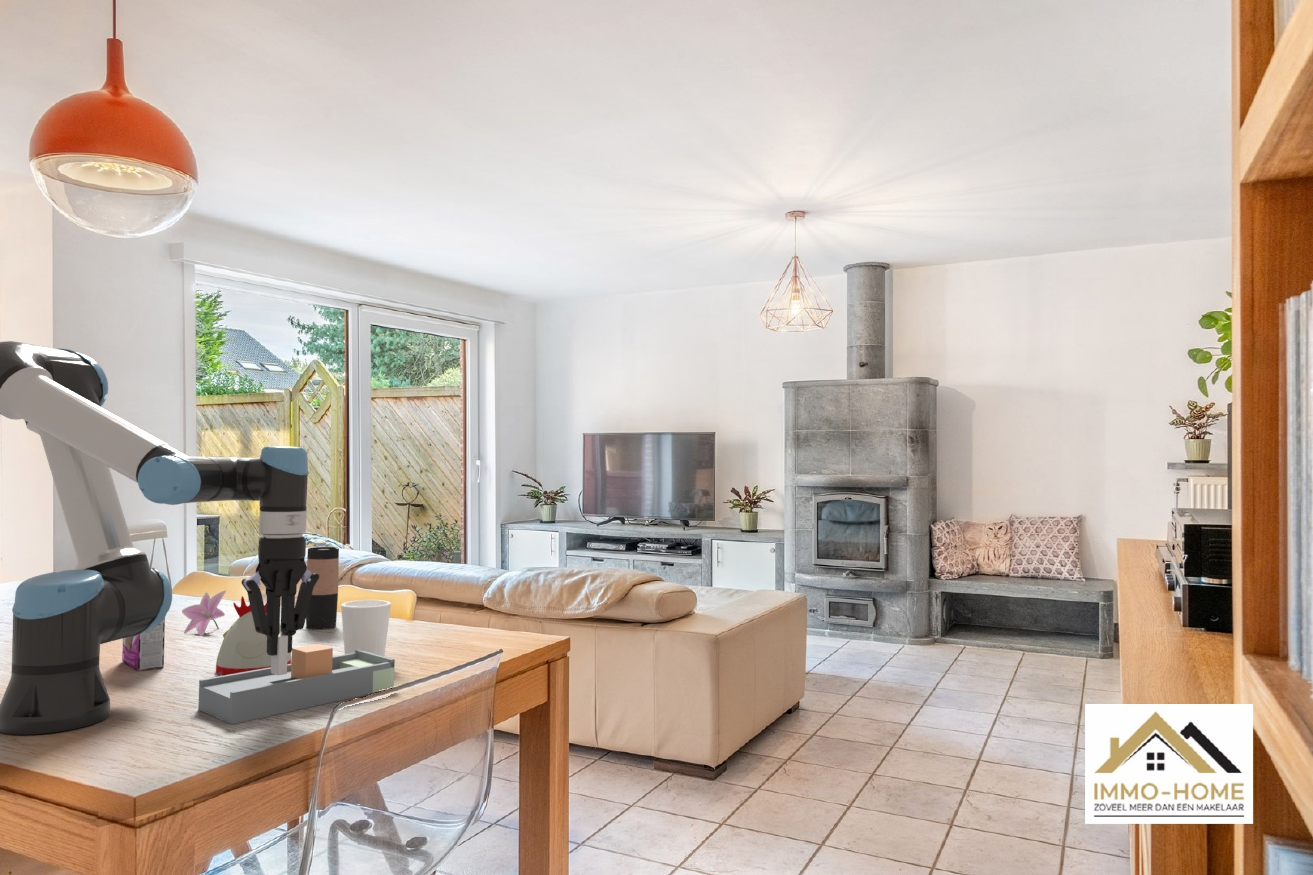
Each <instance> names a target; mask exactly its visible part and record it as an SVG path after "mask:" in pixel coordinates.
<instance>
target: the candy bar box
mask: <svg viewBox="0 0 1313 875" xmlns="http://www.w3.org/2000/svg"><path fill="white" fill-rule="evenodd" d="M165 626H166V617H165V618H164V619H163V621H162V622H161V623H160V624H158V625H157V626H156V627H154V628H153V629H151V630H149V631H146V632H143V633H142V634H139V635H136V636H134V637H129V638H127V637H126V638H122V654H121V655H122V656H121V658H122V659H121V661H122V662H123V663H124V664H126V663H127V665H128V666H130V667H132V668H133V669H135V670H137V671H139V672H141V671H142V670H143V671H149V670H148V669H150V670H155V669H154V668H156V669H160V668H161V669H162V668H164V666H165V636H166V635H165V634H166V633H165V632H166V631H165V629H166V628H165ZM143 671H142V672H143Z"/></svg>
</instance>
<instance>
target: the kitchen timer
mask: <svg viewBox="0 0 1313 875" xmlns="http://www.w3.org/2000/svg"><path fill="white" fill-rule="evenodd" d="M232 603H233V607H234V610H235V612H236V614H237V615H238V618H237V619H236V620H235V621H234V622H233V624H231V626H230V627H229V628H228V630H226V631H225V632H224V633H223V634H222V638H223V639H222V642H221V646H220V647H219V648H220V649H219V650H218V654H217V656H216V661H215V662H216V664H215V673H216V674H217V675H219V676H224V675H230V674H236V673H241V672H247V671H253V670H259V669H264V668H270V667H271V655H268V654H267V636H266V635H265V634H261V633H257V632H256V630H255V625H254V621H253V616H252V612H251V607H250V604H248V605H247V604H246V601H245V597H244V596H243V595H242V596H241V599H240V606H238V605H237V604H236V602H232ZM264 608H265V612H266V609H267V602H266V603H265V604H264ZM279 634H282V632H281V624H280V632H279ZM291 660H292V652H291V653H287V664H291Z"/></svg>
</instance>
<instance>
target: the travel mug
mask: <svg viewBox="0 0 1313 875" xmlns="http://www.w3.org/2000/svg"><path fill="white" fill-rule="evenodd" d="M339 552H340V548H337V547H334V546H316V547H308V549H307V559H306V560H307V562H306V565H307V570H309V571H311V572H312V573H316V574H318V575H319V579H318V581H317V582H316V584H315V586H314V588H313V592H312V596H311V600H310V604H309V608H308V612H307V616H306V620H305V627H306V629H307V628H309V629H308V630H315V629H319V630H327V629H328V630H329V629H334V628H335V627H337V616H338V615H337V614H338V600H339V570H340V568H339V567H340V566H339V563H340V560H339V559H340V558H339V556H340V553H339Z"/></svg>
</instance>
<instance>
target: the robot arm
mask: <svg viewBox="0 0 1313 875" xmlns="http://www.w3.org/2000/svg"><path fill="white" fill-rule="evenodd" d="M108 393H109V382H108V378H107V375H106V373H105V371H104V369H103V367H102V366H101V365H100V364H99V362H97V361H96V360H95V359H94V358H92V357H90V356H89V355H86V354H83V353H80V352H78V351H74V350H71V349H67V348H53V347H48V346H41V345H36V344H31V343H25V342H20V341H11V340H8V341H7V340H6V341H0V415H1V416H3V417H5V418H6V419H9V420H17V421H18V420H24V423H25V425H26V428H27V430H29V431H31V432H33V433H35V434H38V435H39V436H40V440H41V443H42V446H43V451H44V453H45V457H46V459H47V463H48V466H49V469H50V473H51V476H52V479H53V482H54V486H55V489H56V492H57V496H58V499H59V503H60V505H61V506H60V507H61V509H62V512H63V515H64V519H65V521H66V526H67V529H68V533H69V537H70V538H71V541H72V546H73V550H74V552H75V556H76V558H77V564H76V565H75V568H74V569H69V570H68V569H67V570H61V571H59V572H58V571H56V572H52V571H51V572H47V573H43V574H40V575H35V576H33V577H30V578H28V579H26V580H24V581H22V582H21V583H19V585H18V586H17V587H16V589H15V590H16V591H15V593H14V595H15V597H14V603H13V606H12V641H11V642H12V646H11V675H10V679H9V682H8V684H7V687H6V688H5V692H4V693H3V696H2V698H1V701H0V733H3V734H7V735H19V736H20V735H40V734H51V733H52V734H53V733H57V732H64V731H70V730H75V729H79V728H84V727H87V726H90V725H94V724H96V723H99V722H101V721H103V720H105V719H107V718H109V717H110V715H111V699H110V698H111V697H110V695H109V693H108V690H107V687H106V684H105V682H104V678H103V675H102V673H101V670H100V669H101V668H100V655H101V645H104V644H107V643H111V642H114V641H119V640H123V638H126V637H127V638H129V637H134V636H136V635H139V634H142V633H143V632H146V631H149V630H151V629H153V628H154V627H156V626H157V625H158V624H160V623H161V622H162V621H163V619H164V618H165V619H166V616H167V614H168V612H169V611H170V609H171V606H172V602H173V589H172V585H171V582H170V580H169V578H168V576H166V575H165V573H164V572H160V571H159V569H158V568H157V569H156V568H154V567H151V565H150V562H149V559H148V557H147V554H146V552H145V551H143V550H140V549H138V548H136V547H135V546H134V544H133V542H132V538H131V534H130V531H129V527H128V524H127V521H126V517H125V515H124V512H123V509H122V505H121V501H120V498H119V495H118V492H117V489H116V486H115V482H114V479H113V476H112V472H111V469H112V470H113V471H116V472H117V473H119V474H121V475H123V476H125V477H126V478H128V479H129V480H132V481H133V482H134V483H137V485H138V488H139V490H140V491H141V493H142V495H143V497H144V498H146V499H147V500H148V501H150V502H152V503H155V504H161V505H162V504H163V505H164V504H165V505H170V506H175V505H181V504H191V503H204V502H205V503H208V502H223V501H224V502H225V501H253V502H255V501H257V502H258V501H259V522H258V533H259V535H262V536H261V537H260V538H259V539H258V547H257V549H258V551H257V552H258V554H257V557H258V564H257V566H256V569H255V573H254V574H252V575H251V576H249V577H248V578H246V577H245V578H243V579H242V580H241V582H240V583H241V585H242V586H243V588H244V590H245V591H246V592H247V596H248V602H249V605H250V607H251V612H252V616H253V621H254V625H255V630H256V632H257V633H261V634H265V635H266V636H267V654H268V655H271V673H273V674H276V675H284V674H287V653H291V654H292V648H293V636H295V635H296V634H297V631H299V630H303V629H304V628H305V625H306V616H307V612H308V608H309V604H310V600H311V596H312V592H313V588H314V586H315V584H316V582H317V581H318V579H319V575H318V574H316V573H312V572H311V571H309V570H307V562H306V561H305V558H306V554H307V551H306V550H307V548H306V547H307V538H306V537H305V536H303V534H305V533H306V532H307V513H308V512H307V501H308V500H307V498H308V477H309V473H310V472H309V462H308V460H309V459H308V458H309V457H308V452H307V450H306V449H305V448H303V447H302V446H301V447H300V446H264V447H262V449H261V450H260V451H261V452H260V455H259V456H258V457H239V456H238V457H236V456H231V457H230V456H229V457H228V456H215V455H214V456H194V455H193V456H191V455H190V454H186V453H184V452H183V451H181V450H179V449H177V448H175V447H173V446H171V445H170V444H169V443H167V442H164V441H163V440H162V439H159V438H157V437H155V436H154V435H152V434H150V433H148V432H146V431H145V430H143V429H141V428H139V427H137V426H136V425H134V424H132V423H130V422H129V421H126V420H124V419H123V418H122V417H120V416H118V415H116V414H113V413H112V412H111V411H108V410H106V409H105V408H103V407H102V406H103V405H104V403H105V402H106V400H107V399H106V396H107V395H108ZM300 581H301V584H300V586H299V589H298V591H297V585H298V584H299V582H300ZM261 583H262V584H263V586H264V587H265V595H266V603H267V609H266V612H265V608H264V605H265V604H264V599H263V595H262V590H261V588H260V587H261ZM297 592H298V594H297ZM296 595H297V598H296ZM280 625H281V632H282V634H279V632H280Z"/></svg>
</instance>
